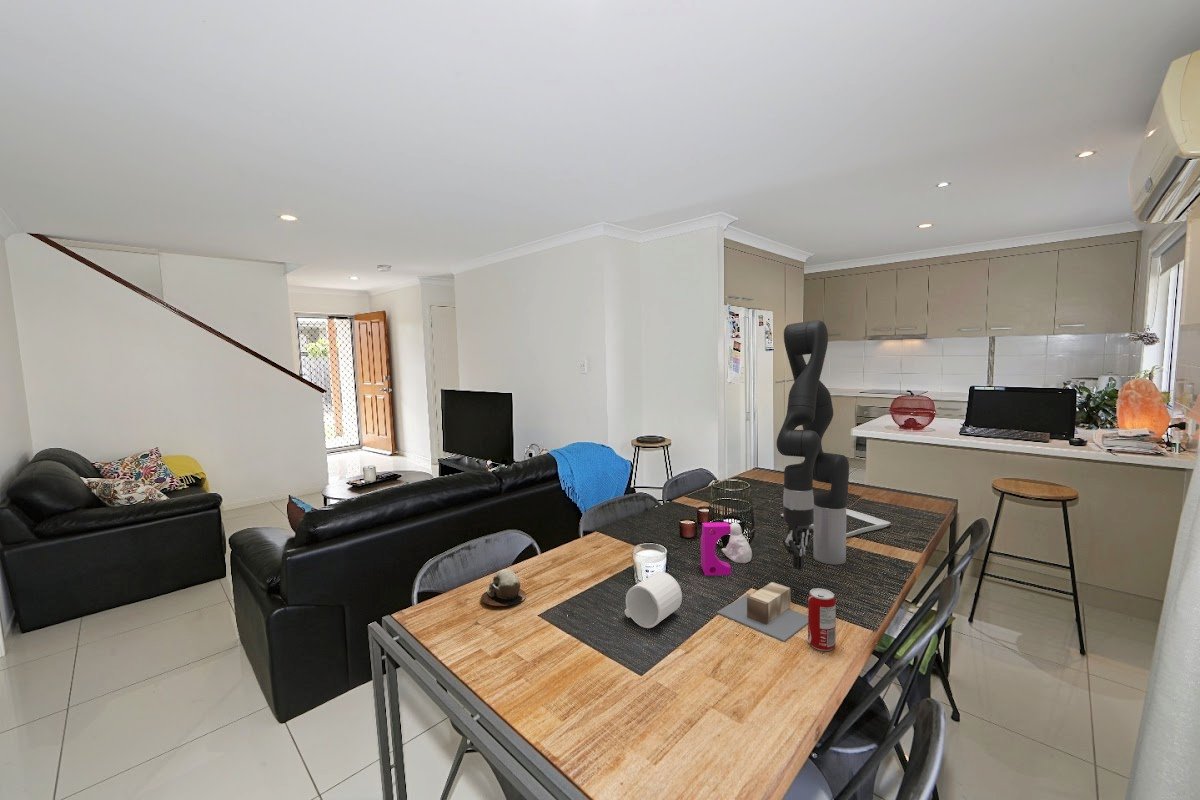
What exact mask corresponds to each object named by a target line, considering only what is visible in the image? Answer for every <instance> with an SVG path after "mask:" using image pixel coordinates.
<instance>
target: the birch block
mask: <svg viewBox="0 0 1200 800" xmlns="http://www.w3.org/2000/svg"><path fill="white" fill-rule="evenodd" d="M791 590H792V589H791V587H789V586H785V585H783V584H779V583H776V582H774V581H771V582H769V583H768V584H766V585H765V586H763V587H762V588H760V589H758V590H756V591H755V592H753V593H752V594H750V596H748V597H747V617H748V618H750V619H753V620H755V621H758V622H760V623H763V624H765V625H766V624H768V623H769V622H770V621H772V620H773V619H775V618H776V617H777V616H779V615H780V614H782V613H783V612H784V611H786V610H787V609H791V603H792V602H791V601H792V599H791Z"/></svg>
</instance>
